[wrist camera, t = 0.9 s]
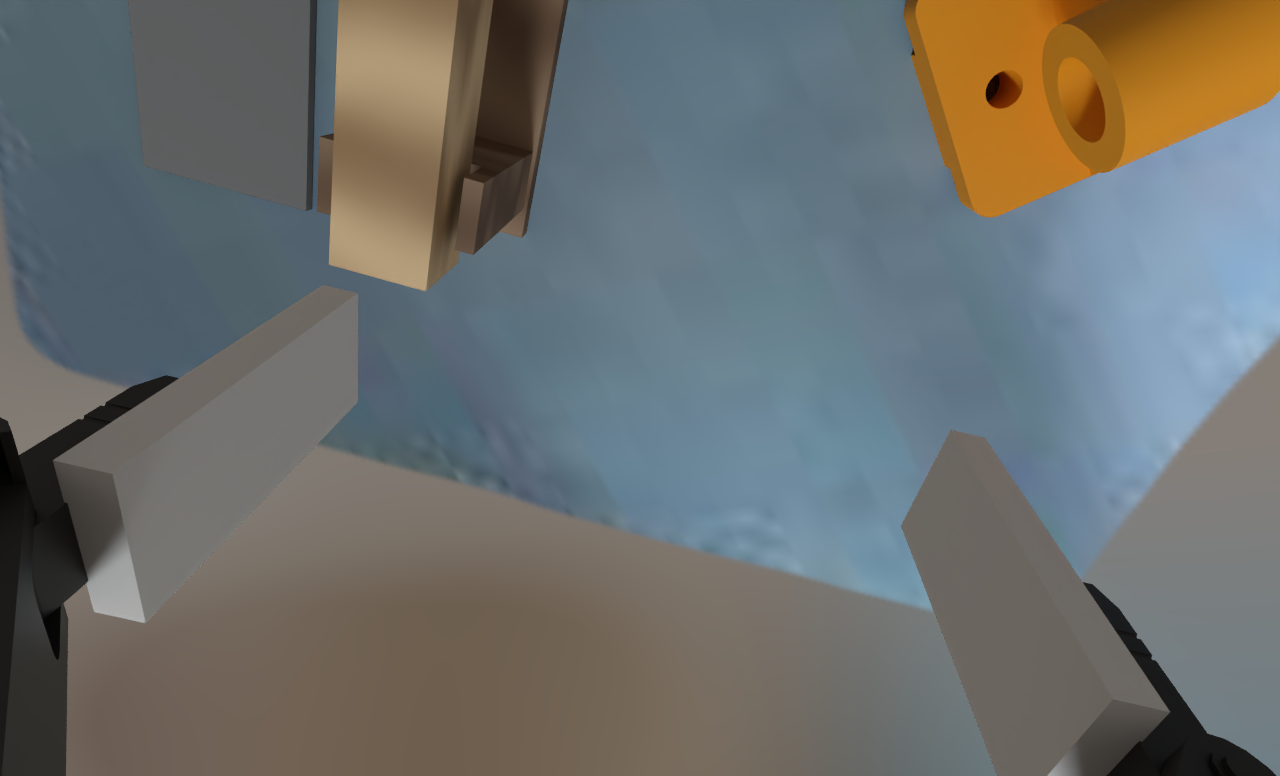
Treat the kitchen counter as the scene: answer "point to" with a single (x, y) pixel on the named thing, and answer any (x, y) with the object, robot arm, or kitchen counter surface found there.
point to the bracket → (499, 123)
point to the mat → (228, 93)
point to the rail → (404, 133)
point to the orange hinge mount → (1081, 84)
